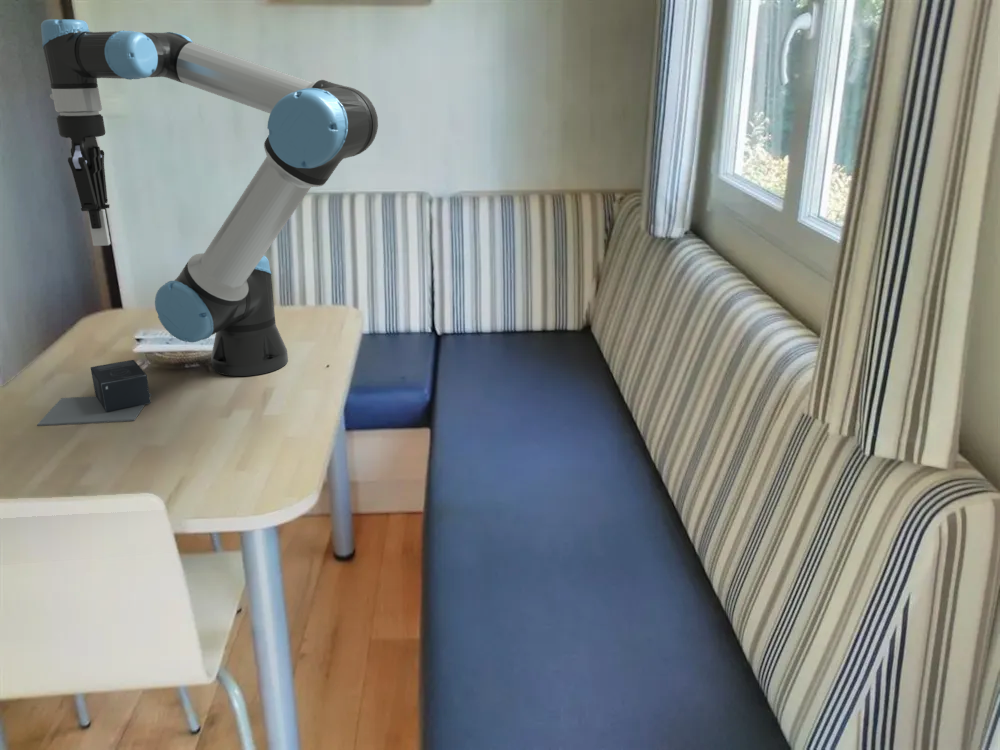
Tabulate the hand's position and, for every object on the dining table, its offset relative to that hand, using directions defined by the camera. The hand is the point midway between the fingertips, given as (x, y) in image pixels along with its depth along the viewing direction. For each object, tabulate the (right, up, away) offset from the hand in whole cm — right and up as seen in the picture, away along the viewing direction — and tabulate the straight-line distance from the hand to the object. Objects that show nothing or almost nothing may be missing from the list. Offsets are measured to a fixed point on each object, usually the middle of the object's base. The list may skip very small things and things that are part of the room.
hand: (101, 244), depth 159 cm
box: (+2, -25, +1) cm, 25 cm away
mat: (+2, -31, -6) cm, 31 cm away
